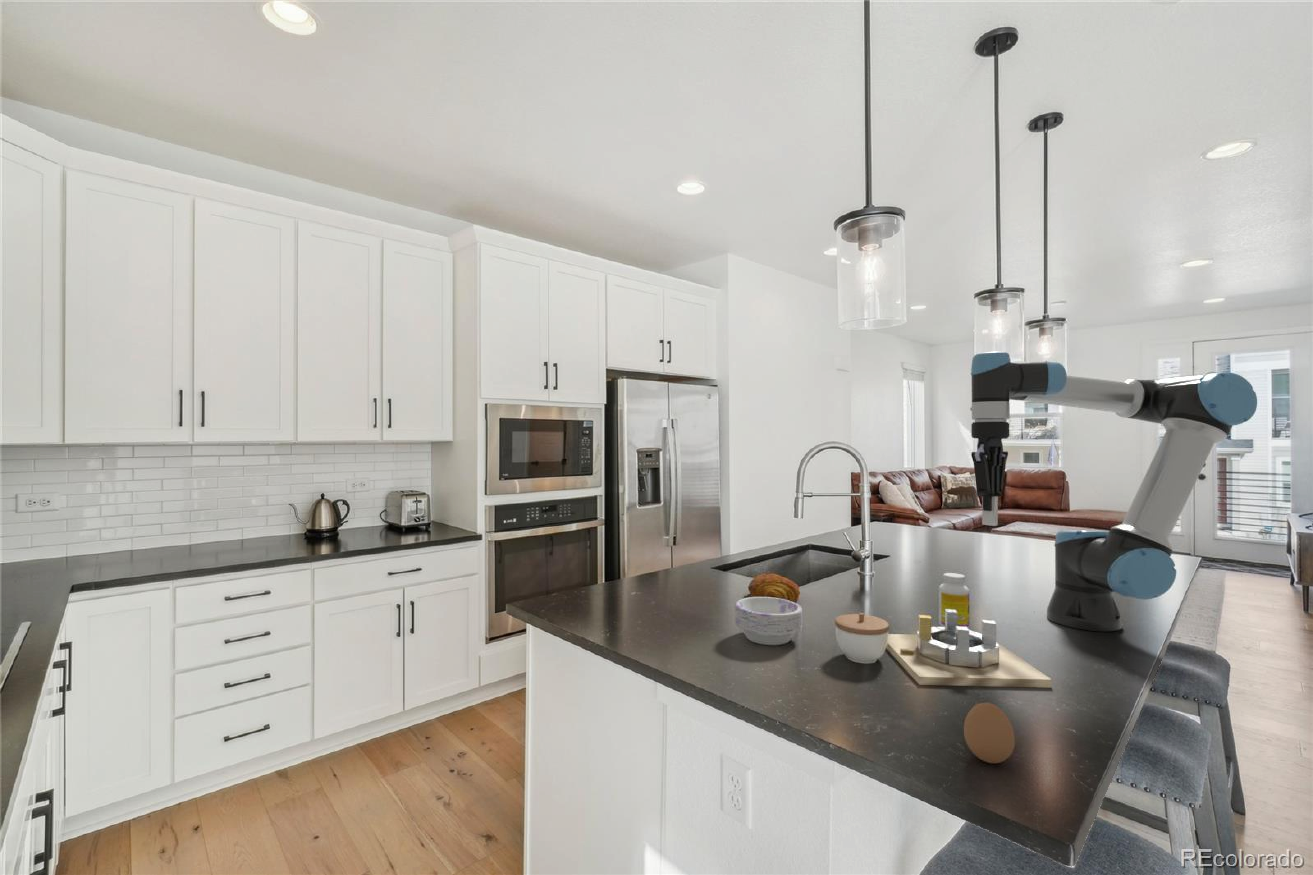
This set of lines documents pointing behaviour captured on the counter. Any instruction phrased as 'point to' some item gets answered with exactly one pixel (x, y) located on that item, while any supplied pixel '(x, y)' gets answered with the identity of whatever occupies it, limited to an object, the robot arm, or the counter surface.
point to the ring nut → (958, 642)
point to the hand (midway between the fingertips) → (989, 524)
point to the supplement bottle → (954, 599)
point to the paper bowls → (768, 619)
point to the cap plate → (964, 668)
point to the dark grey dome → (952, 639)
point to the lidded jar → (862, 637)
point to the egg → (989, 733)
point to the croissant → (774, 587)
